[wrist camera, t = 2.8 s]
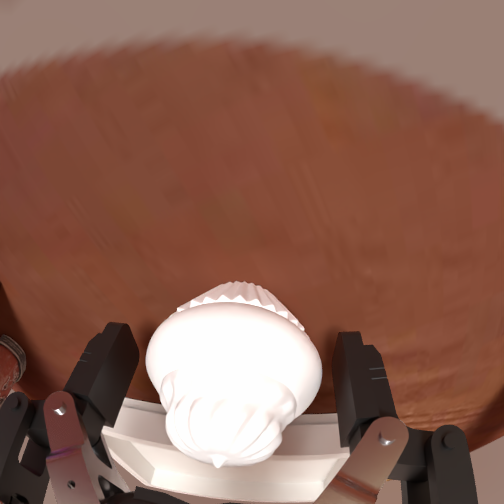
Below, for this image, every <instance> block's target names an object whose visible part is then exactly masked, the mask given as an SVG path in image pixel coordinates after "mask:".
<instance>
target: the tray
mask: <svg viewBox="0 0 504 504" xmlns="http://www.w3.org/2000/svg"><path fill="white" fill-rule="evenodd" d="M166 414H167V412H166V410H165V409H164V407H163V406H162V404H156V403H150V402H145V401H140V400H134V399H129V398H124V401H123V404H122V406H121V409H120V412H119V414H118V417H117V420H116V423H115V425H114V428H111V427H107V426H103V429H102V433H103V435H104V438H105V441H106V443H107V446H108V449H109V451H110V454H111V457H113V458H114V459H115V460H116V461H117V462H118V463H119V464H120V465H122V466H123V467H124V468H125V469H126V470H127V471H129V472H130V473H131V474H132V475H133V476H135V477H136V478H137V479H138V480H140V481H141V482H142V483H143V484H145V485H147V486H151V487H155V488H160V489H164V490H169V491H173V492H179V493H184V494H190V495H196V496H202V497H209V498H217V499H227V500H238V501H250V502H279V503H280V502H282V503H285V502H286V503H288V502H314V501H315V500H316V499H317V498H318V497H319V496H320V494H321V493H322V492H323V491H324V489H325V488H326V487H327V486H328V484H329V483H330V482H331V481H332V479H333V478H334V477H335V476H336V474H337V473H338V472H339V470H340V469H341V468H342V466H343V465H344V463H345V462H346V461H347V459H348V458H349V456H350V452H349V447H344V448H341V447H340V436H339V427H338V417H337V413H332V414H304V415H299V416H298V417H297V418H295V419H294V420H293V421H292V422H291V423H289V424H288V425H286V427H285V429H284V430H283V431H282V432H281V433H282V442H281V444H280V445H279V446H278V447H277V448H276V449H275V451H274V453H273V454H272V455H271V456H270V457H269V458H268V459H266V460H264V461H262V462H258V463H257V464H255V465H253V466H243V467H241V468H233V467H228V468H225V467H221V468H216V467H215V466H213V465H210V464H206V463H201V462H198V461H197V460H195V459H191V458H189V457H188V456H186V455H184V454H183V453H182V452H181V451H180V450H179V449H178V448H177V447H175V446H174V445H173V443H172V442H171V440H170V439H169V437H168V435H167V432H166V427H165V426H166V419H165V418H166Z"/></svg>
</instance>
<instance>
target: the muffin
mask: <svg viewBox="0 0 504 504" xmlns="http://www.w3.org/2000/svg"><path fill="white" fill-rule="evenodd" d="M146 368H147V372H148V375H149V377H150V380H151V382H152V383H153V385H154V387H155V389H156V390H157V392H158V393H159V395H160V401H161V403H162V406H163V407H164V409H165V410H166V412H167V414H166V418H165V419H166V426H165V427H166V432H167V435H168V437H169V439H170V440H171V442H172V443H173V445H174V446H175V447H177V448H178V449H179V450H180V451H181V452H182V453H183V454H184V455H186V456H188V457H189V458H191V459H195V460H197V461H198V462H201V463H206V464H210V465H213V466H215V467H216V468H221V467H225V468H228V467H233V468H241V467H243V466H253V465H255V464H257V463H258V462H262V461H264V460H266V459H268V458H269V457H270V456H271V455H272V454H273V453H274V451H275V449H276V448H277V447H278V446H279V445H280V444H281V442H282V433H281V432H282V431H283V430H284V429H285V427H286V425H288V424H289V423H291V422H292V421H293V420H294V419H295V418H297V417H298V416H299V415H301V414H302V413H303V412H304V411H305V410H306V409H307V408H308V407H309V405H310V404H311V403H312V401H313V400H314V398H315V396H316V394H317V392H318V390H319V387H320V384H321V379H322V364H321V359H320V356H319V354H318V351H317V349H316V348H315V346H314V344H313V343H312V342H311V340H310V338H309V336H308V335H307V334H306V333H305V332H304V327H303V326H302V325H301V324H300V323H299V322H298V320H297V319H296V318H295V317H294V316H293V315H292V313H291V312H290V311H289V310H288V309H287V308H286V307H285V306H284V305H283V304H282V303H281V302H280V301H279V300H278V299H277V298H276V297H275V296H274V295H273V294H272V293H270V292H269V291H268V290H267V289H263V288H262V287H261V286H260V285H259V286H255V285H254V284H253V283H250V284H248V283H246V282H245V281H244V282H242V283H240V282H238V281H235V282H234V283H231V282H228V283H226V284H221V285H219V286H217V287H215V288H213V289H212V290H210V291H208V292H206V293H204V294H202V295H200V296H198V297H196V298H195V299H193V300H191V301H189V302H187V303H186V304H184V305H182V306H180V307H178V308H177V312H175V313H173V314H172V315H170V317H169V318H168V319H166V320H165V321H164V322H163V323H162V324H161V325H160V326H159V327H158V328H157V330H156V331H155V332H154V334H153V336H152V338H151V340H150V342H149V345H148V349H147V353H146Z"/></svg>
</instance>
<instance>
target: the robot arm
mask: <svg viewBox="0 0 504 504" xmlns="http://www.w3.org/2000/svg"><path fill="white" fill-rule="evenodd" d="M138 362H139V349H138V347H137V344H136V342H135V340H134V337H133V335H132V332H131V330H130V327H129V325H128V324H124V323H115V322H109V323H108V324H107V325H106V327H105V329H104V331H103V332H102V334H101V333H98V334H97V335H96V336H95V337H94V338H93V339H91V340H90V341H89V343H88V345H87V346H86V348H85V350H84V353H83V354H82V355H81V357H80V361H78V363H77V365H76V367H75V368H74V370H73V372H72V374H71V376H70V378H69V380H68V382H67V384H66V386H65V388H64V389H63V391H58V392H55V393H53V394H51V395H50V396H49V397H48V398H47V399H46V400H29V399H28V397H27V396H26V395H25V394H24V393H22V392H14V393H12V394H10V395H9V396H8V397H7V398H6V399H5V401H4V403H3V405H2V407H1V410H0V504H43V501H44V497H45V493H46V490H47V486H48V483H49V479H50V480H51V484H52V488H53V491H54V494H55V498H56V501H57V504H189V503H187V502H184V501H182V500H180V499H177V498H175V497H173V496H170V495H168V494H166V493H163V492H158V491H153V490H149V489H145V488H141V487H137V486H136V490H135V491H132V492H130V490H129V488H128V486H127V484H126V483H125V481H124V480H123V478H122V477H121V476H120V474H119V473H118V471H117V469H116V466H115V464H114V462H113V459H112V457H111V454H110V451H109V449H108V446H107V443H106V441H105V438H104V435H103V433H102V429H103V426H107V427H111V428H114V425H115V423H116V420H117V417H118V414H119V412H120V409H121V406H122V404H123V401H124V398H125V396H126V393H127V391H128V388H129V385H130V383H131V380H132V378H133V375H134V373H135V370H136V368H137V365H138ZM332 376H333V384H334V392H335V400H336V408H337V417H338V427H339V436H340V447H341V448H344V447H349V452H350V456H349V458H348V459H347V461H346V462H345V463H344V465H343V466H342V468H341V469H340V470H339V472H338V473H337V474H336V476H335V477H334V478H333V479H332V481H331V482H330V483H329V484H328V486H327V487H326V488H325V489H324V491H323V492H322V493H321V494H320V496H319V497H318V498H317V499H316V500H315V501H314V503H313V504H375V502H376V500H377V495H378V493H379V491H380V489H381V488H382V486H383V485H384V483H385V481H386V480H387V479H392V480H401V490H402V504H478V500H477V492H476V486H475V479H474V474H473V468H472V463H471V458H470V453H469V449H468V444H467V440H466V436H465V434H464V432H463V431H462V430H461V429H460V428H458V427H457V426H454V425H444V426H441V427H439V428H438V429H437V430H436V431H435V432H433V431H424V430H416V429H412V428H409V427H407V426H406V425H405V424H404V423H403V422H402V421H400V420H399V418H398V416H397V414H396V410H395V406H394V402H393V398H392V394H391V390H390V386H389V383H388V379H387V375H386V371H385V369H384V364H383V361H382V357H381V354H380V353H379V352H378V351H377V350H376V348H375V347H374V346H373V345H363V341H362V337H361V334H360V332H359V331H355V332H339V333H338V337H337V341H336V346H335V350H334V354H333V359H332ZM25 436H28V437H29V441H28V443H27V446H26V449H25V451H24V454H23V457H22V460H21V462H20V463H19V460H18V456H19V452H20V450H21V447H22V444H23V442H24V439H25ZM223 504H240V503H223Z"/></svg>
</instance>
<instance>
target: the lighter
mask: <svg viewBox="0 0 504 504" xmlns="http://www.w3.org/2000/svg"><path fill="white" fill-rule="evenodd" d="M25 368H26V356H25V353H24V351H23V350H22V348H21V347H20V346H19V345H18V344H17V343H16V342H15V341H14V340H13V339H11V338H10V337H9V336H7V335H2V336H1V338H0V410H1V407H2V405H3V403H4V401H5V399H6V397H7V396H8V394H9V392H10V390H11V389H12V387H13V385H14V384H15V383H16V382H17V381H19V379H20V378H21V376H22V374H23V373H24V371H25Z"/></svg>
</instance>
